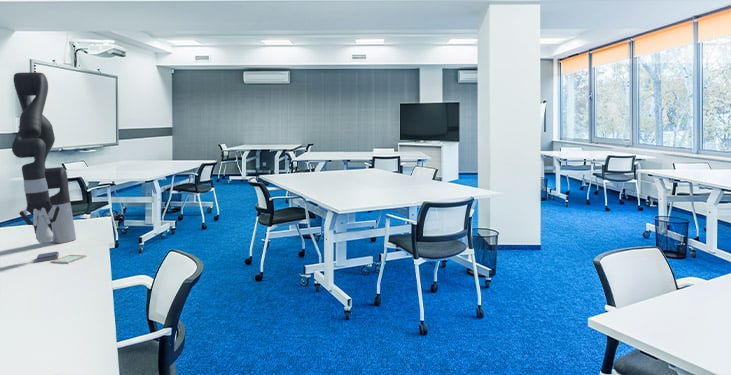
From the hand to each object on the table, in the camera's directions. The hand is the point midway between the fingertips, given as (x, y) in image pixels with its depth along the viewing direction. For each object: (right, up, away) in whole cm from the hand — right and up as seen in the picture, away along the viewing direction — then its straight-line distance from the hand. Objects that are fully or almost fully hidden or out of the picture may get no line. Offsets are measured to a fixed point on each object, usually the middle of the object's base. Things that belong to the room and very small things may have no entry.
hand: (44, 233), depth 193 cm
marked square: (+11, -10, -2) cm, 15 cm away
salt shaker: (0, -3, +1) cm, 3 cm away
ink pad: (+1, -10, +1) cm, 10 cm away
